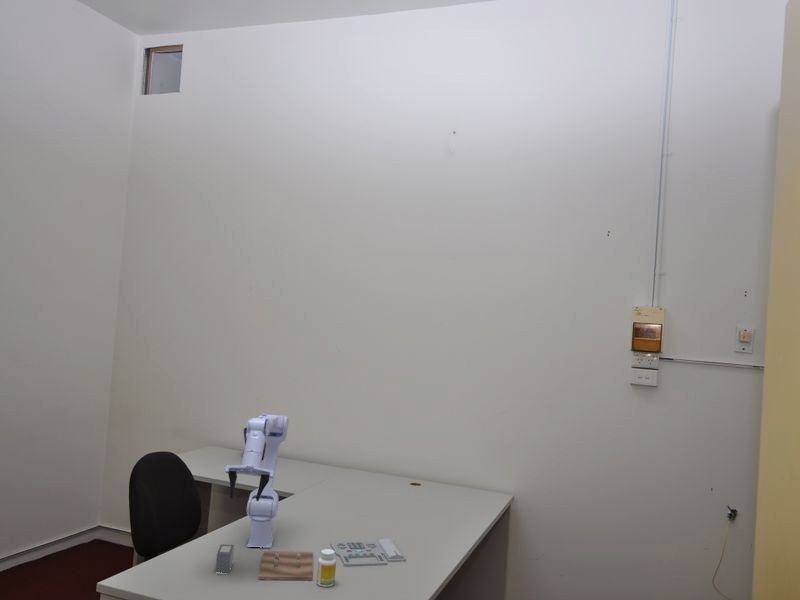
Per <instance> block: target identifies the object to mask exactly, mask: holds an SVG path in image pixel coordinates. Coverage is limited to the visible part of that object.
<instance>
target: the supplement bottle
mask: <svg viewBox="0 0 800 600" xmlns="http://www.w3.org/2000/svg"><path fill="white" fill-rule="evenodd" d="M335 556H336V555H335V551H334V550H333V549H332V548H325V549H322V550H320V557H319V558H318V560H317V572H316V584H317V585H318V586H319V587H323V588H331V587H332V586H334V585H335V582H336V581H335V580H336V567H337V565H336V564H337V559H336V557H335Z"/></svg>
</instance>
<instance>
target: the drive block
mask: <svg viewBox="0 0 800 600" xmlns="http://www.w3.org/2000/svg"><path fill="white" fill-rule="evenodd" d="M234 547H235V545H234V544H223V543H222V544H220V546H219V548H218V551H217V553H216V562H215V573H216V572H220V573H221V572H222V573H229V571H230V572H231V570H230V568H231V569H232V567H231V565H232V566H233V564H232V562H234V549H235V548H234ZM229 574H230V573H229Z"/></svg>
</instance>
